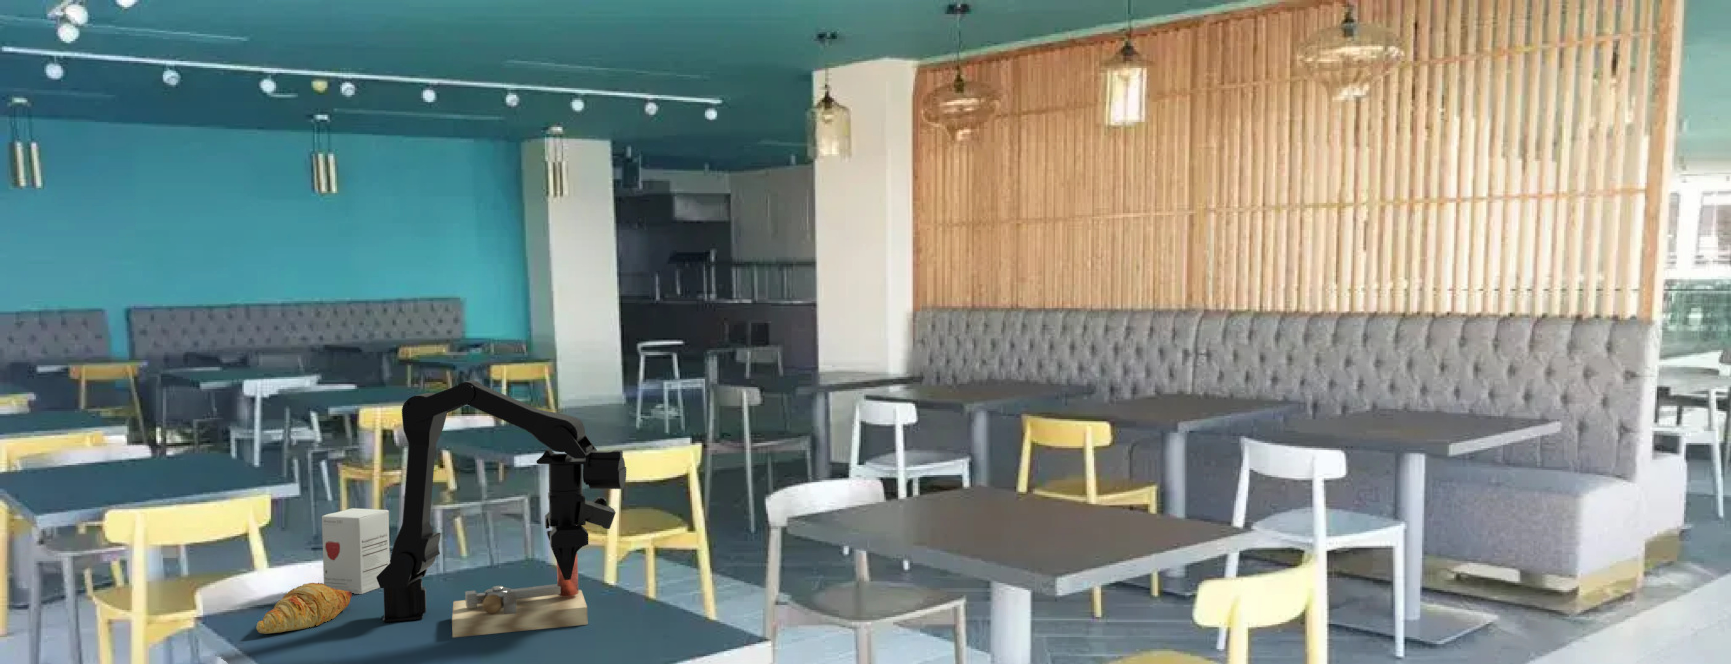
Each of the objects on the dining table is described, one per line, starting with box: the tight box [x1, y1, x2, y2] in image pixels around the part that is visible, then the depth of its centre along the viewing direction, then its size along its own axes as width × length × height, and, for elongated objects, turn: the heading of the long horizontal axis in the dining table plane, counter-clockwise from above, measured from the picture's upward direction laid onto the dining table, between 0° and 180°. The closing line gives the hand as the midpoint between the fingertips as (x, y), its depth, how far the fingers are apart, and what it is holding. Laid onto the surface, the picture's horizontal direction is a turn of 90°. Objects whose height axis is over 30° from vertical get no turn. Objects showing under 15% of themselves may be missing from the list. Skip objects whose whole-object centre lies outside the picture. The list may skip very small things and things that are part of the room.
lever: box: [464, 553, 579, 608], centre depth 214 cm, size 19×4×7 cm, turn 115°
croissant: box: [256, 582, 353, 635], centre depth 215 cm, size 21×10×8 cm, turn 162°
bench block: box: [451, 589, 589, 638], centre depth 213 cm, size 22×13×6 cm, turn 108°
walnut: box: [483, 594, 502, 614], centre depth 207 cm, size 3×3×3 cm
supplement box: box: [321, 507, 391, 595], centre depth 240 cm, size 9×9×15 cm
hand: (566, 575), depth 217 cm, fingers open, 5 cm apart
